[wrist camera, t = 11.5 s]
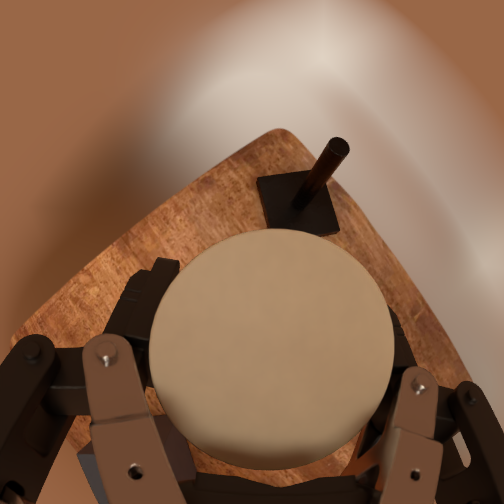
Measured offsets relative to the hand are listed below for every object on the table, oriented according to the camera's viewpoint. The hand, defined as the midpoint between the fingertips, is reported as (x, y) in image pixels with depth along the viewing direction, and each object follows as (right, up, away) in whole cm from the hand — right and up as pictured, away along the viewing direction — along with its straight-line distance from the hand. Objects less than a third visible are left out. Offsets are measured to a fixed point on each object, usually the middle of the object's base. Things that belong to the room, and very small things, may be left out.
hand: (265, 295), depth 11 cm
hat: (-1, -3, +4) cm, 5 cm away
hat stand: (+5, +7, +30) cm, 32 cm away
